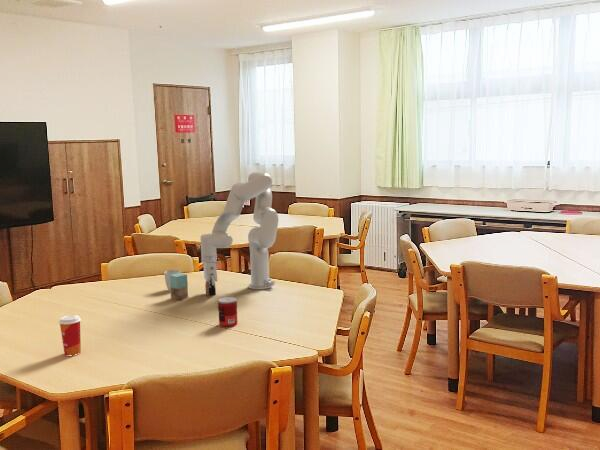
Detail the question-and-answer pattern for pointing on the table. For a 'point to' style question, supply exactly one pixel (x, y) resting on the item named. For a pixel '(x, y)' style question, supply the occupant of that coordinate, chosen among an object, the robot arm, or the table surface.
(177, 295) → the tower bottom
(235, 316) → the canned food
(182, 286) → the tower top
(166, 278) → the cup
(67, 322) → the paper cup
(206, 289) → the drum
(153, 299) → the table surface
